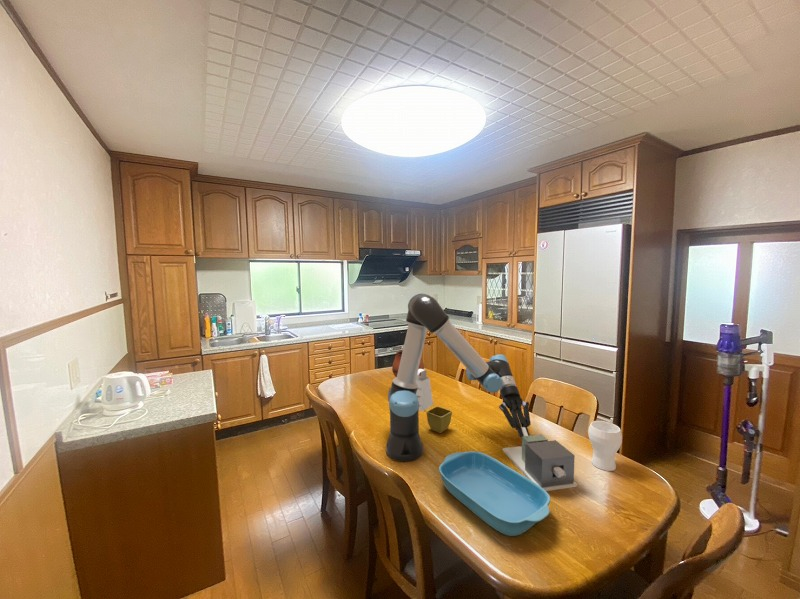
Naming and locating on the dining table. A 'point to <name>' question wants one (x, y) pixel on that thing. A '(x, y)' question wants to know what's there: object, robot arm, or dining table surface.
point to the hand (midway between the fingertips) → (528, 445)
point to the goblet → (397, 363)
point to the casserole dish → (495, 492)
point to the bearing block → (548, 463)
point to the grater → (424, 390)
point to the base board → (516, 458)
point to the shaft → (540, 438)
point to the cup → (604, 444)
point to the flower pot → (439, 418)
